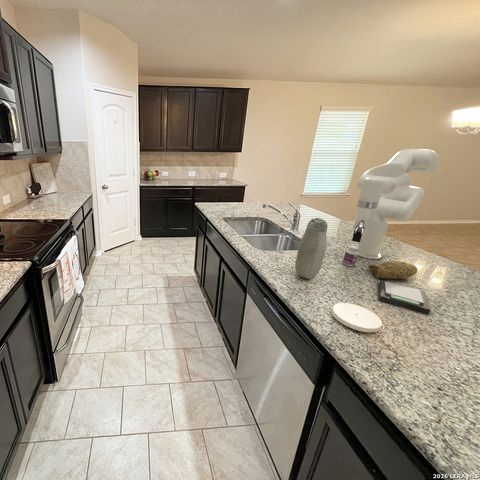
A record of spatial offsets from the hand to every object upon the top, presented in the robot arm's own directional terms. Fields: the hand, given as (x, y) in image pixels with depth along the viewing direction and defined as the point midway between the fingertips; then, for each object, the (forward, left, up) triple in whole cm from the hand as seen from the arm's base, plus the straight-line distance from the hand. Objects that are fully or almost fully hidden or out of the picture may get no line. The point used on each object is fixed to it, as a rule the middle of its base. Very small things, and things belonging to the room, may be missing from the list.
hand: (356, 238), depth 124 cm
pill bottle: (0, 0, -15) cm, 14 cm away
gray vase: (+28, -15, -15) cm, 35 cm away
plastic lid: (+52, +5, -14) cm, 54 cm away
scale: (+23, +19, -14) cm, 33 cm away
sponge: (+1, +17, -15) cm, 22 cm away
